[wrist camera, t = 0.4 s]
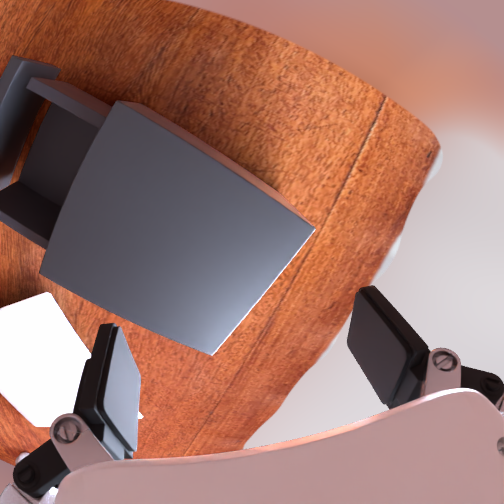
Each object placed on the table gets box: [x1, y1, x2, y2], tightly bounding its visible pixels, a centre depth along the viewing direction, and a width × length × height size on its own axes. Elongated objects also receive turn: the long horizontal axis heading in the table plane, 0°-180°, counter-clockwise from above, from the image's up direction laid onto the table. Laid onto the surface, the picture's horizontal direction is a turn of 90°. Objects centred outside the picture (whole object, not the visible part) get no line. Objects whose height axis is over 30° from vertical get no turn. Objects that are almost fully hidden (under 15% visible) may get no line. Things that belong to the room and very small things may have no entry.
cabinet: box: [39, 100, 316, 356], centre depth 22 cm, size 15×13×9 cm
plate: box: [0, 292, 143, 427], centre depth 30 cm, size 22×22×2 cm
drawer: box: [0, 55, 112, 249], centre depth 17 cm, size 18×11×7 cm, turn 54°
